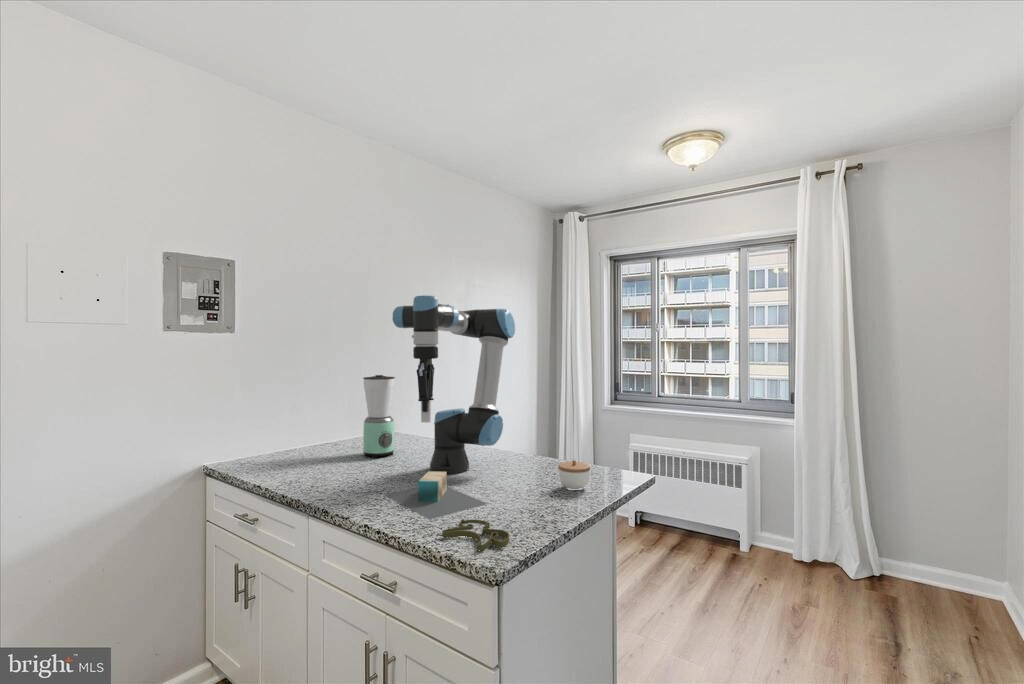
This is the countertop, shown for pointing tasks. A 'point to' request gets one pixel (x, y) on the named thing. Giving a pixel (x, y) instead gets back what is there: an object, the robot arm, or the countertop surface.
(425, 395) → the robot arm
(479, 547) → the cookie cutter
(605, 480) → the countertop surface
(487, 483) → the countertop surface
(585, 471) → the lidded jar
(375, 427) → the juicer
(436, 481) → the maple block
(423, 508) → the charcoal mat
